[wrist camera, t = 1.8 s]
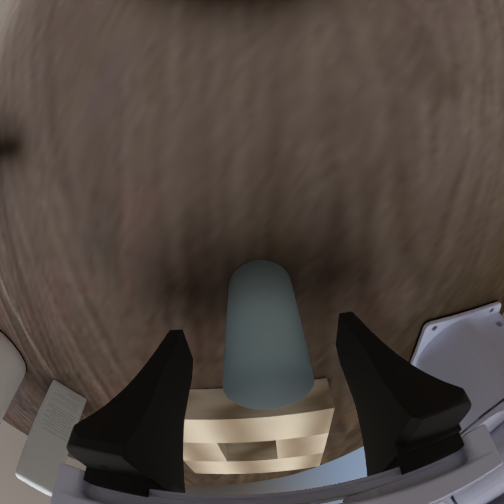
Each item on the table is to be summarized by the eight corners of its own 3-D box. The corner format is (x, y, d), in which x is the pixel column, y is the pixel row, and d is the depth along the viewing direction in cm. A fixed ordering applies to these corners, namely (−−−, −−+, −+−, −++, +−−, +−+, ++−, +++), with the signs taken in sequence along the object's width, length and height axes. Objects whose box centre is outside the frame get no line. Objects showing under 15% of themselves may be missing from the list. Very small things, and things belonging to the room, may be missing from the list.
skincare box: (78, 414, 25) (51, 497, 14) (47, 396, 24) (15, 476, 13) (89, 398, 23) (57, 496, 12) (53, 377, 21) (13, 472, 11)
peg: (289, 256, 16) (316, 352, 10) (292, 308, 17) (312, 404, 11) (224, 263, 16) (214, 361, 10) (233, 314, 17) (230, 412, 11)
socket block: (326, 377, 21) (334, 407, 18) (315, 444, 27) (319, 465, 25) (156, 388, 21) (149, 417, 19) (196, 452, 28) (195, 472, 25)
